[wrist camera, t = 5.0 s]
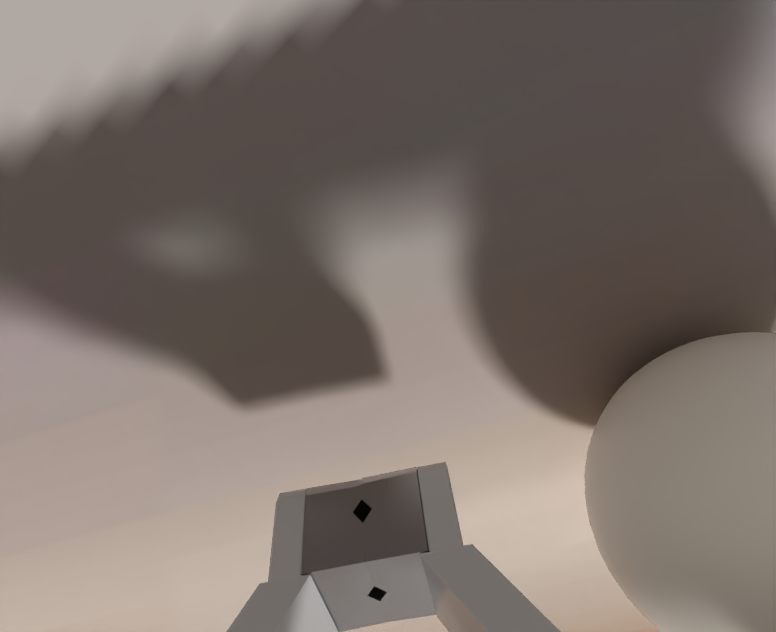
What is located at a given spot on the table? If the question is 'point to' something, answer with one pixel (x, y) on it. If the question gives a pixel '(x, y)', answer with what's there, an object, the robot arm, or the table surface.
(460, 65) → the table surface
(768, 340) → the cue ball
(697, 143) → the table surface
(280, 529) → the robot arm
